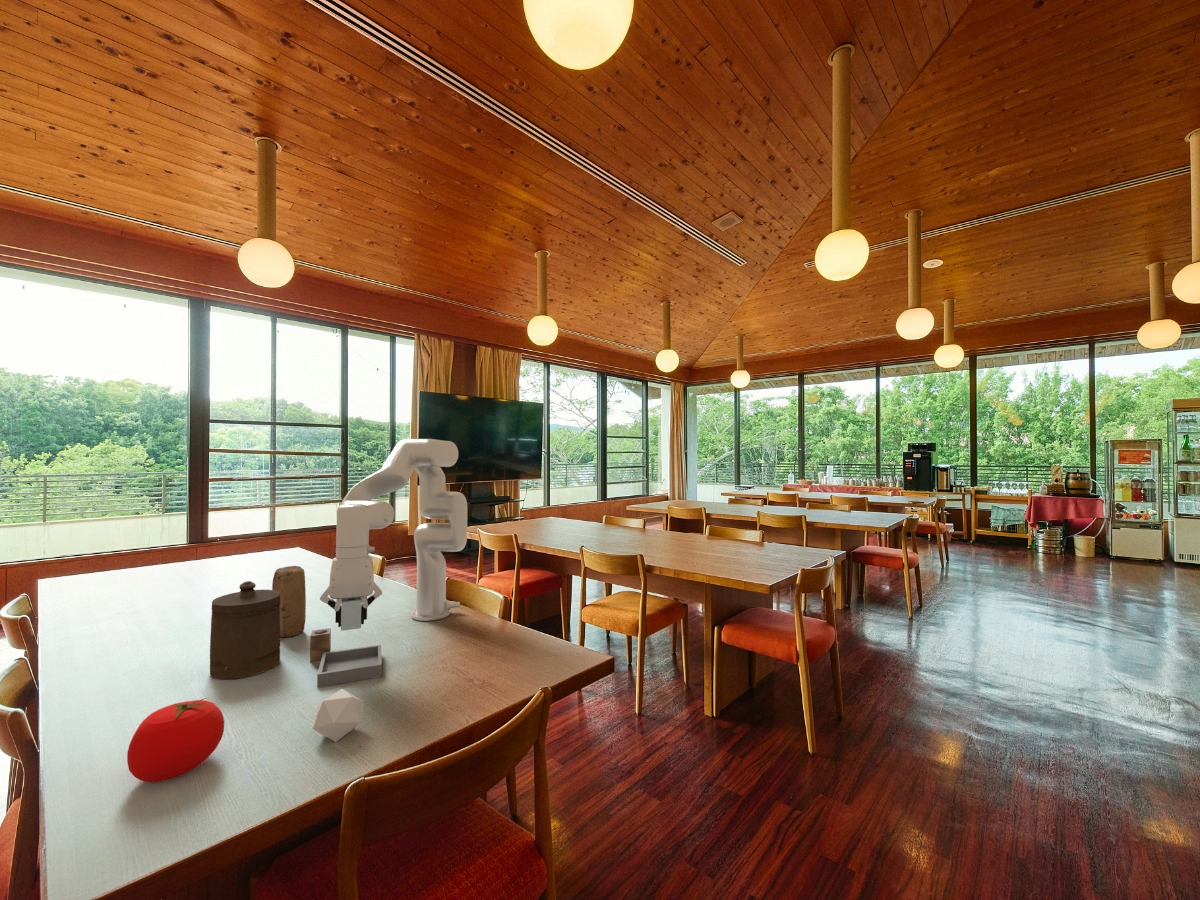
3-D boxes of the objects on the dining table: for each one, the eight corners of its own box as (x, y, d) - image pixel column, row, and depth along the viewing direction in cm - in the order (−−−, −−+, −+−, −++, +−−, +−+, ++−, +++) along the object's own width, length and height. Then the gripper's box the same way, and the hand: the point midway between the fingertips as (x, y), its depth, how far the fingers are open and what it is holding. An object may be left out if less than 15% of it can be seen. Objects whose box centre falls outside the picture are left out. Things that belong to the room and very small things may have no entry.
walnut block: (330, 653, 138) (330, 627, 138) (329, 659, 134) (329, 633, 134) (311, 656, 136) (312, 630, 136) (309, 662, 132) (310, 635, 132)
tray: (381, 655, 136) (381, 644, 136) (381, 676, 124) (381, 664, 124) (322, 664, 131) (323, 652, 131) (317, 687, 118) (317, 674, 118)
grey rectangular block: (361, 622, 130) (361, 595, 130) (360, 628, 126) (361, 600, 126) (342, 625, 128) (342, 597, 128) (340, 630, 124) (341, 602, 124)
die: (338, 722, 104) (308, 695, 100) (376, 700, 105) (347, 673, 100) (330, 757, 97) (297, 730, 92) (370, 734, 97) (339, 706, 93)
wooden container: (273, 650, 139) (273, 572, 139) (286, 667, 129) (287, 582, 129) (205, 666, 129) (206, 581, 129) (214, 686, 118) (215, 593, 118)
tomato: (107, 785, 83) (108, 716, 83) (198, 740, 96) (199, 681, 96) (152, 804, 79) (153, 731, 79) (242, 755, 91) (242, 692, 91)
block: (307, 634, 152) (307, 568, 152) (278, 640, 146) (279, 572, 147) (296, 625, 159) (297, 563, 160) (269, 631, 154) (269, 566, 154)
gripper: (388, 547, 134) (386, 615, 134) (316, 552, 127) (315, 623, 127) (388, 552, 127) (387, 624, 127) (313, 557, 120) (311, 633, 120)
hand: (351, 623), depth 127 cm, fingers closed on grey rectangular block, 4 cm apart
